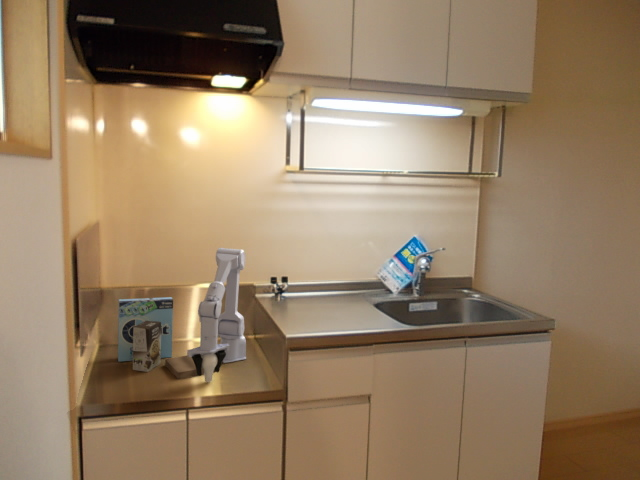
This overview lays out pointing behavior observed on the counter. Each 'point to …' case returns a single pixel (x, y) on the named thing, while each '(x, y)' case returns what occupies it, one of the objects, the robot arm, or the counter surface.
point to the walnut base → (182, 367)
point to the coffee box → (146, 346)
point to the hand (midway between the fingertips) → (208, 373)
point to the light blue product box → (137, 313)
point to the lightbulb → (209, 365)
